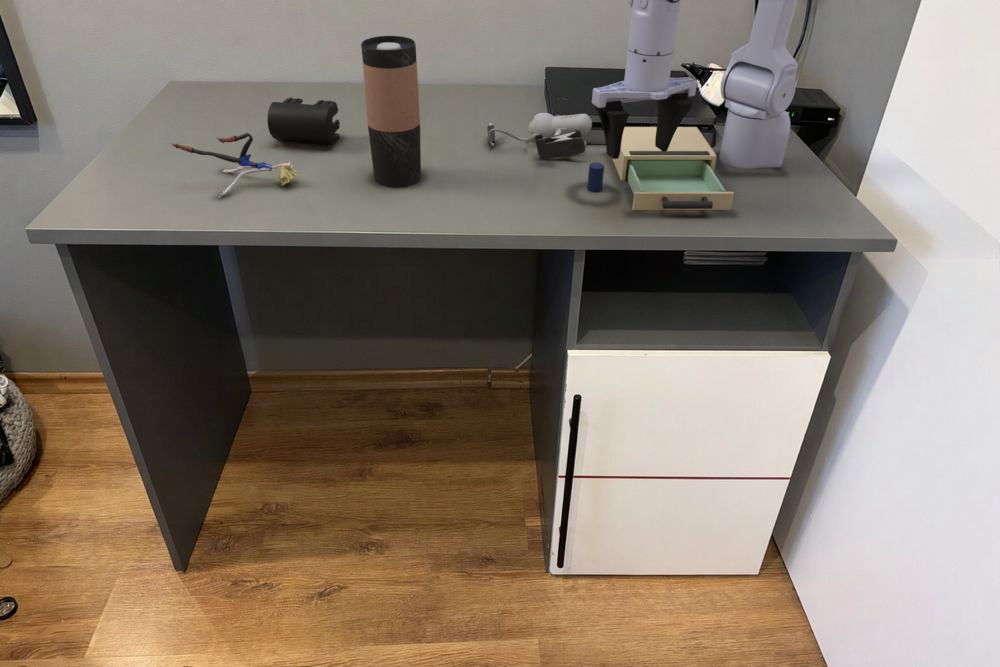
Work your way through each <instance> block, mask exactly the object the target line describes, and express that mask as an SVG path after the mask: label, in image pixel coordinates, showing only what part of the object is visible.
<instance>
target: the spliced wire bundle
mask: <svg viewBox="0 0 1000 667" xmlns="http://www.w3.org/2000/svg"><path fill="white" fill-rule="evenodd" d="M247 138H248V139H247ZM216 139H217V140H218V142H220V143H222V144H224V143H234V142H238V141H242V140H244V139H247V140H246V142H245V143H244V145H243V146H242V149H241V150H240V153H239V157H235V156H232V155H227V154H224V153H218V152H213V151H205V150H201V149H196V148H194V147H193V146H187V145H183V144H180V143H172V142H171V143H170V145H171V146H172V147H174V148H175V149H177V150H178V149H179V150H182V151H185V152H187V153H190V154H197V155H200V156H212V157H215V158H217V159H220V160H223V161H226V162H230V163H235V164H238V165H239V166H238V167H236V168H233V169H228V168H227V169H226V168H225V169H224V170H222V172H223V173H227V174H229V173H236V172H239V174H238V175H237V176H236V177H235V179H234V180H232V183H231V184H230V185H229V186H228V187H226V188H225V190H223V192H222V193H221V194H220V195H219V196H218V198H219V199H220V198H221V197H222V196H226V195H227V194H228V193H229V192H230V191H231V190H232V189H233V188H234V187H235V186H236V184H237V183H238V181H239V180H241V178H243V176H245V175H247V174H253V173H259V172H260V173H261V172H271V171H272V170H273V169H277V168H279V167H280V169H279V175H278V176H277V179H278V180H279V185H280V186H281V187H283V186H285V185H286V184H289V183H290V181H292V180H293V178H294V177H295V178H296V177H297V176H298V173H299V171H297V170H296V169H295V168H294V169H293V166H294V164H293V162H292V160H288V161H286V162H283V163H278V164H276V165H273V164H270V163H266V162H265V161H263V162H254V161H252V160H250V159H251V157H252V154H247V153H248V150H250V146H251V145H252V143H253V141H254V138H253V136H252V135H251V134H250V133H248V132H246V133H243V134H240V135H232V136H229V137H220V138H219V137H218V136H217V137H216ZM245 169H247V170H245ZM242 170H243V171H242Z"/></svg>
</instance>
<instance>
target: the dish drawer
mask: <svg viewBox="0 0 1000 667" xmlns="http://www.w3.org/2000/svg"><path fill="white" fill-rule="evenodd" d="M656 130H657V126H625V128H624V131H623V135H622V142H621V150H620V155H619V158H618V159H613V158H612V157H611V160H612V162H613V164H614V167H615V169H616V172H617V174H618V177H619V180H620V181H622V182H623V181H624V182H625V181H626V168H627V160H706V162H707V163H708V165H709V166H710V168H711V169H712V171H713V172H714V173H715V169H716V162H717V158H718V156H717V154H716V153H715V151H714V149H713V148H712V147H711V145H710V144H709V142H708V141H707V139H706V138H705V136H703V134H702V132H701V131H700V129H699V128H698V127H697V126H678V128H677V130H676V132H675V134H674V136H673V138H672V140H671V142H670V145H669V147H668V150H667V151H664V152H663V151H662V150H660V149H659V148H657V147H656V146H655V137H656Z"/></svg>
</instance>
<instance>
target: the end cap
mask: <svg viewBox="0 0 1000 667" xmlns="http://www.w3.org/2000/svg"><path fill="white" fill-rule="evenodd" d="M303 102H304V100H303V98H299V97H297V98H295V97H294V98H293V97H287V98H285V99H284V100H283V101H272V103H271V104H270V105H269V108H268V111H267V127H268V132H269V134H270V136H271V137H272V138H273V139H274V140H276V141H278V142H279V143H285V144H286V143H287V144H298V145H300V144H301V145H312V146H324V147H333V146H334V145H335V144H336V143H337V142H338V140H340V133H338V132H337V131H339V129H340V124H341V122H340V119H335V121H333V120H334V119H333V118H334V117H335V116H336V115H337V114H338V113H339V108H338V104H337V102H335V101H334V100H333V101H332V100H330V99H329V100H323V99H321V100H317V101H316V103H314V104H307V103H303Z"/></svg>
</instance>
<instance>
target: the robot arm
mask: <svg viewBox="0 0 1000 667" xmlns="http://www.w3.org/2000/svg"><path fill="white" fill-rule="evenodd" d="M681 2H682V0H628V4H629V7H630V8H631V16H630V24H629V25H630V26H629V35H628V43H627V52H626V53H627V54H626V61H625V71H624V79H623V80H621V81H617V82H614V83H611V84H608V85H605V86H601V87H594V88H592V95H591V104H593V106H594V108H595V110H596V113H597V115H598V117H599V121H600V124H601V127H602V130H603V135H604V139H605V140H604V141H605V148H606V154H607V155H608V156H609V157H611V159H612V158H613V159H618V158H619V155H620V150H621V142H622V135H623V131H624V128H625V127H626V124H627V122H628V119H629V116H630V113H629V112H627V111H626V110H625V109H624V105H622V104H625V103H633V102H641V101H649V100H654V101H656V103H657V104H656V106H657V122H656V123H657V124H656V127H657V130H656V137H655V146H656V147H657V148H659V149H660V150H662V151H663V152H664V151H667V150H668V147H669V145H670V142H671V140H672V138H673V136H674V134H675V132H676V130H677V128H678V127H680V124H681V123H682V121H683V120H684V118H685V117H686V116H687V114H688V113H689V112H690V111H691V110H692V107H693V100H692V99H690V98H688V97H695V96H696V93H697V92H696V91H697V86H698V85H697V84H698V81H697V80H695V79H693V78H692V77H689V76H686V77H671V72H672V65H673V58H674V57H673V56H674V50H675V44H676V37H677V31H678V23H679V18H680V17H679V16H680V11H681V10H680V9H681V5H682V4H681ZM797 3H798V0H758V3H757V8H756V11H755V16H754V20H753V23H752V24H753V25H752V28H751V32H750V36H749V40H748V43H746V44H745V45H743V46H742V47H739V48H738V49H736V50H735V51H734V52H732V53H731V56H730V59H729V62H728V65H727V68H726V70H725V71H724V73H723V74H722V78H721V81H720V94H721V97H722V99H723V100H724V101H725V103H724V107H725V108H727V114H726V115H727V116H726V120H725V124H724V130H723V135H722V139H721V145H720V149H719V155H718V159H719V161H720V162H721V163H723V164H725V165H727V166H729V167H732V168H736V169H742V170H743V169H745V170H751V169H752V170H754V169H760V168H761V169H762V168H782V166H783V163H784V158H785V153H786V151H787V146H788V142H789V138H790V134H791V118H790V115H789V113H788V112H787V111H786V110H787V109H788V108H789V106H790V105H791V103H792V101H793V99H794V96H795V93H796V89H797V88H796V86H797V84H796V78H797V72H798V69H799V68H798V67H799V64H798V62H797V61H796V59H795V58H794V56H793V55H792V54H791V53H790V51H789V50H788V49H787V47H786V44H787V40H788V36H789V33H790V29H791V26H792V22H793V18H794V14H795V11H796V6H797ZM613 159H612V160H613Z"/></svg>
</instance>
